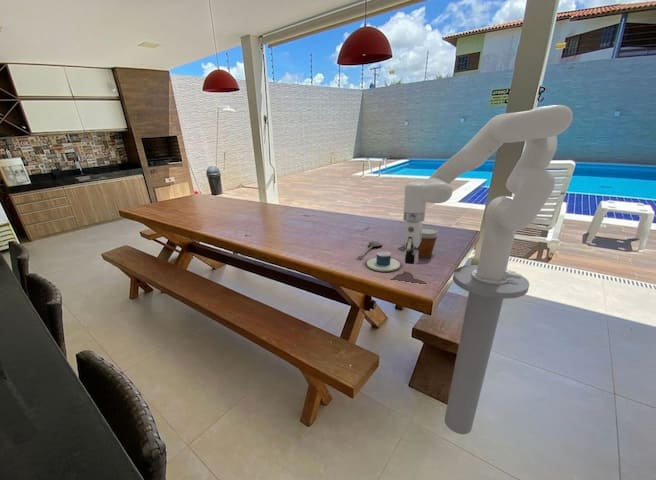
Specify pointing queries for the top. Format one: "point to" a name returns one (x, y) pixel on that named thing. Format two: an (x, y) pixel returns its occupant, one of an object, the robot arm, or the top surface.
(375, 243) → the soupspoon
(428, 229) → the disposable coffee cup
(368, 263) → the saucer
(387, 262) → the cylinder
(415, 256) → the cylinder
